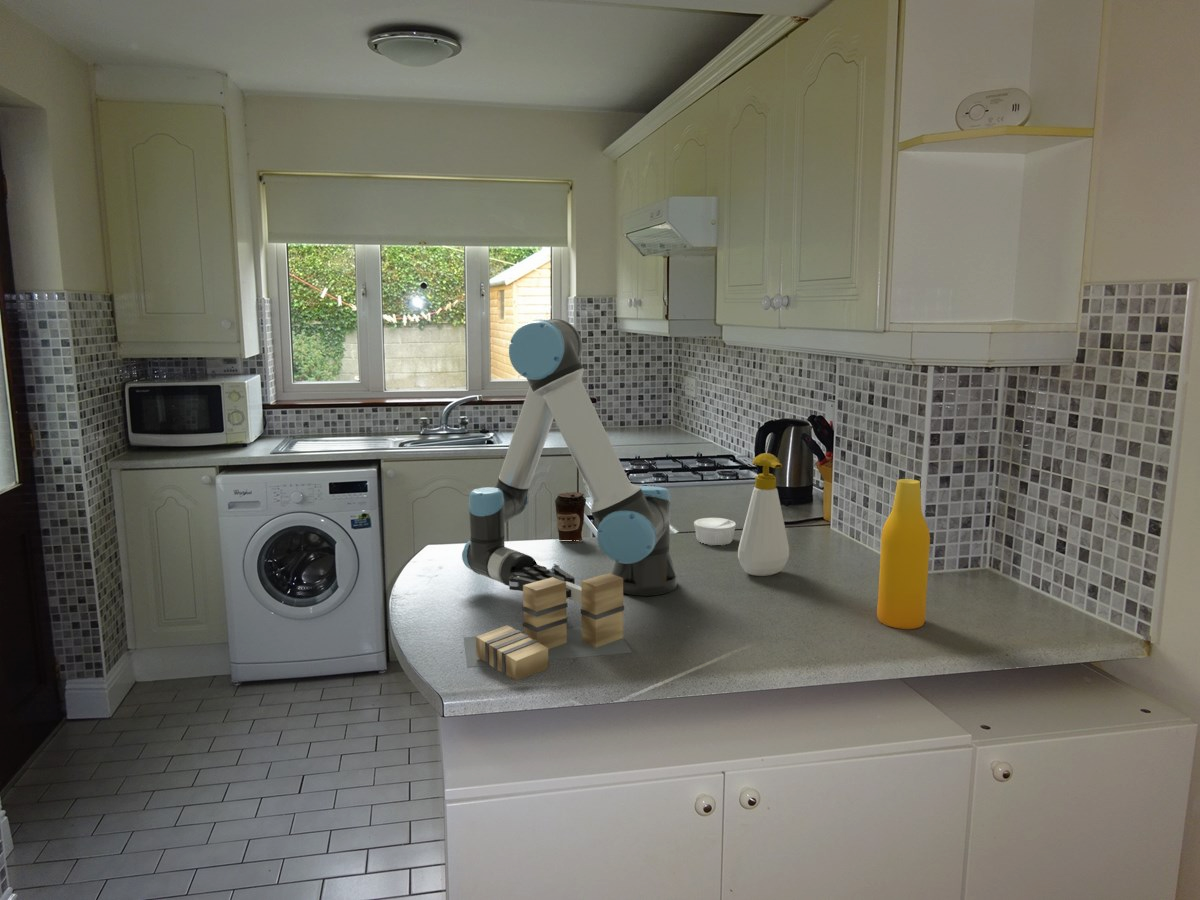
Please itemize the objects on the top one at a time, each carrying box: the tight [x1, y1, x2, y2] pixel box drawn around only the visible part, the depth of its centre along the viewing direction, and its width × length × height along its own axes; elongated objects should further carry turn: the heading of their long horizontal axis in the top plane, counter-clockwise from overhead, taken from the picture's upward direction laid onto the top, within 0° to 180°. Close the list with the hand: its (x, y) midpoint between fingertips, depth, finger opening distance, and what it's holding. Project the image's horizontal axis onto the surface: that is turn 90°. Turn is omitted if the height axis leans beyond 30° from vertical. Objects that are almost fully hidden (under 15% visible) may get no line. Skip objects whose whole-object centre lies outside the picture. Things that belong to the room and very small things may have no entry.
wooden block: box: [521, 577, 569, 649], centre depth 159 cm, size 4×7×12 cm, turn 132°
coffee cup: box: [554, 491, 587, 544], centre depth 230 cm, size 9×8×13 cm
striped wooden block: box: [475, 624, 549, 681], centre depth 151 cm, size 4×7×12 cm
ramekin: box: [693, 517, 737, 546], centre depth 229 cm, size 11×11×5 cm
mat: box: [463, 626, 632, 668], centre depth 160 cm, size 30×14×1 cm, turn 102°
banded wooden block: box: [580, 572, 625, 648], centre depth 161 cm, size 4×7×12 cm, turn 132°
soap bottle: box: [737, 452, 790, 577], centre depth 199 cm, size 13×10×29 cm
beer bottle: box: [876, 478, 931, 630], centre depth 169 cm, size 9×9×29 cm
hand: (585, 596), depth 164 cm, fingers closed
